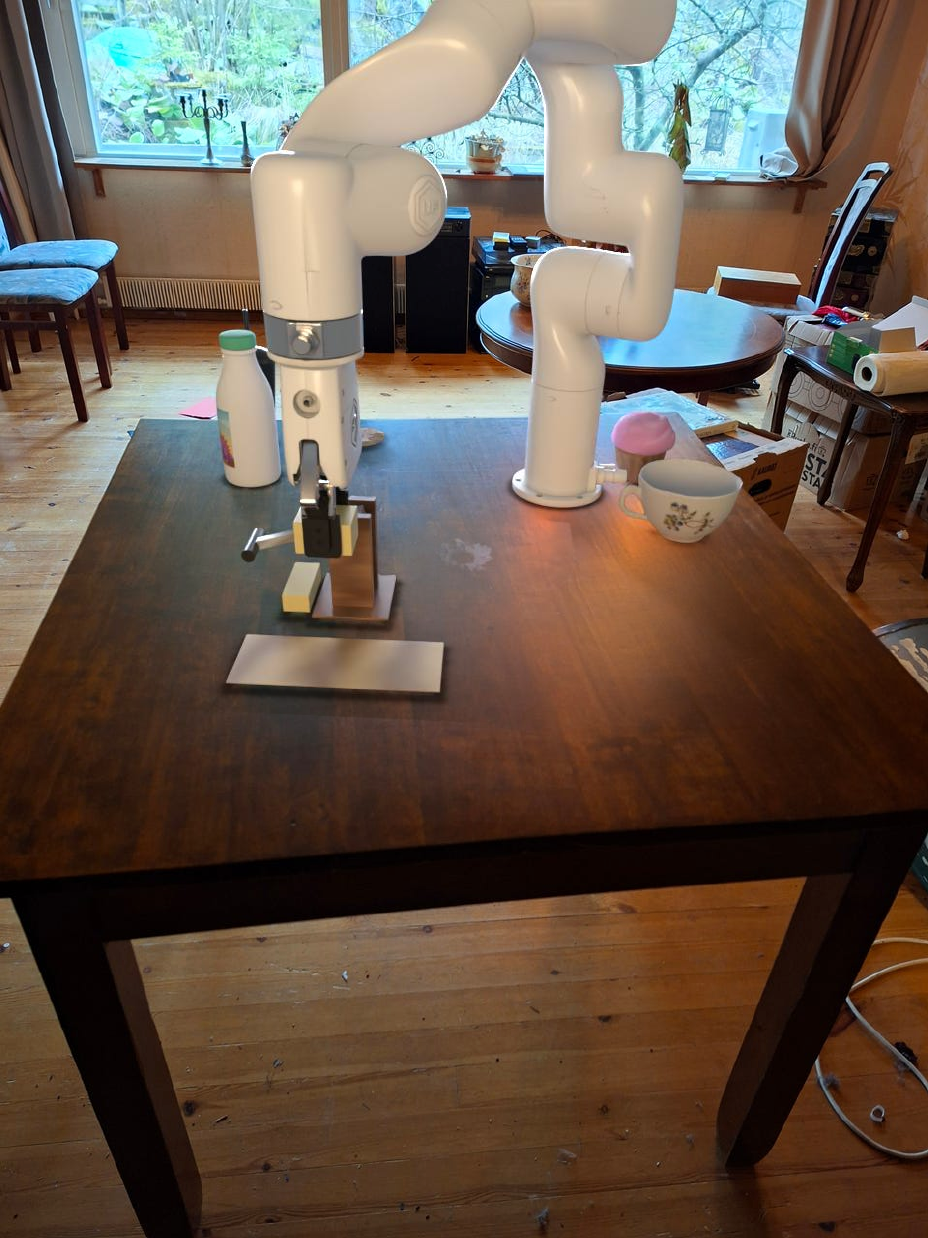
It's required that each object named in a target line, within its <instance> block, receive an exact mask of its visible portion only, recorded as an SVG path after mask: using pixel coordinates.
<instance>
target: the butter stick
mask: <svg viewBox="0 0 928 1238" xmlns="http://www.w3.org/2000/svg"><path fill="white" fill-rule="evenodd" d="M321 582H322V568H321V563H320V562H311V561H310V562H306V561H295V562H294V564H293V566H292V569H291V572H290V574H289V576H288V578H287V581H286V584H285V586H284V589H283V592H282V594H281V600H282V609H283V612H291V613H311V610H312V608H313V604H314V602H315V599H316V595H317V594H318V591H319V590H318V589H319V587H320V584H321Z"/></svg>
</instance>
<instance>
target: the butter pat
mask: <svg viewBox="0 0 928 1238" xmlns="http://www.w3.org/2000/svg"><path fill="white" fill-rule="evenodd" d="M336 514H337V515H340V524H341V543H342V554H341V555H342V556H352V554H353V551H354V547H355V544H356V541H357V537H358V517H357V506H349V505H336ZM292 529H293V531H294V542H293V543H294V551H295V554H297V555H299V554H300V555H301V554H302V555H305V554H304V543H303V531H302V519H301V506H300V507H299V508H298V512H297V514H296V516H295V517H294V519H293V522H292Z"/></svg>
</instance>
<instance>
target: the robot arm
mask: <svg viewBox="0 0 928 1238" xmlns="http://www.w3.org/2000/svg"><path fill="white" fill-rule="evenodd" d="M677 10H678V0H433V1H432V3H431V4H430V5H429V6H428V8H427V9H426V11H425V12H424V14H423V15H422V17H421V19H420V20H419V21H418V23H417V24H416V26H415V27H414V28H413V29H412V30H410V31H409V32H408V33H406V34H404V35H402V36H400V37H399V38H396V39H394V40H393V41H391V42H390V43H388V44H387V45H385V46H383V47H382V48H379V50H377V51H376V52H374V53H372V54H371V55H370V56H368V57H366V58H365V59H363V60H362V61H360V62H358V63H357V64H355V65H353V66H351V67H350V68H349V69H347V70H345V71H344V72H343V73H341V74H340V75H338V76H337V77H336V78H334V79H333V80H331V81H330V82H329V83H328V84H327V85H326V86H324V87H323V88H322V89H321V90H320V91H319V92H318V93H317V94H316V95H315V96H314V97H313V99H312V100H311V101H310V102H309V104H308V105H307V107H306V108H305V109H304V111H303V112H302V113H301V114H300V116H299V118H298V120H296V122H295V123H294V125H293V126H292V127H291V129H290V130H289V132H288V134H287V135H286V137H285V138H284V140H283V141H282V143H281V146H280V148H279V150H278V151H271V152H266V153H263V154H261V155H260V156H258V157H257V158H256V159H255V160H254V161H253V164H252V166H251V170H250V192H251V201H252V212H253V223H254V232H255V242H256V252H257V262H258V263H257V264H258V275H259V283H260V294H261V295H260V296H261V304H262V317H263V327H264V335H265V336H264V337H265V338H264V339H265V349H267V356H268V357H269V358H270V359H271V360H273V361H275V363H279V378H280V382H279V383H280V388H279V393H280V405H281V425H282V437H283V451H284V461H285V468H286V475H287V479H288V480H287V481H288V482H289V483H290V484H291V485H292V486H293V487H295V488H296V487H298V486H300V487H299V488H300V489H299V491H300V494H299V495H300V497H299V503H300V507H301V519H302V531H303V543H304V554H303V555H304V556H305V557H307V558H315V559H317V558H318V559H329V558H336V559H337V558H340V557H341V554H342V543H341V524H340V515H337V514H336V505H349V496H350V494H349V490H347V488H348V486H349V485H350V484H351V482H352V480H353V478H354V474H355V472H356V469H357V466H358V463H359V460H360V457H361V454H362V449H363V447H362V436H361V428H362V425H361V411H360V400H359V386H358V385H359V384H358V373H357V366H356V364H357V363H356V361H358V360H360V359H362V358H363V357H364V354H365V346H364V345H365V343H364V342H365V341H364V339H365V338H364V319H363V318H364V314H363V312H364V311H363V310H364V309H363V282H362V281H363V280H362V279H363V278H362V260H363V258H365V257H372V256H373V257H374V256H375V257H376V256H378V257H379V256H381V257H382V256H383V257H403V256H408V255H412V254H415V253H417V252H419V251H421V250H423V249H425V248H426V247H427V246H428V245H430V244H431V242H433V241H434V239H435V238H436V237H437V235H438V234H439V232H440V230H441V229H442V226H443V224H444V222H445V218H446V214H447V207H448V196H447V188H446V185H445V181H444V179H443V176H442V175H441V173H440V172H439V169H438V168H437V167H436V165H435V164H434V163H433V162H432V161H431V160H430V159H428V158H427V157H426V156H424V155H423V154H421V153H419V152H417V151H415V150H412V149H408V148H405V147H401V146H404V145H408V144H410V143H413V142H417V141H421V140H424V139H425V140H426V139H429V138H433V137H438V136H440V135H444V134H448V133H450V132H453V131H455V130H458V129H461V128H464V127H466V126H468V125H469V126H470V125H471V124H474V123H475V122H477V121H480V120H481V119H483V118H484V117H486V116H487V115H488V114H489V113H490V112H491V110H493V108H494V107H495V105H496V104H497V103H498V101H499V99H500V97H501V95H502V94H503V92H504V90H505V89H506V87H507V86H508V84H509V82H511V81H510V80H511V79H512V77H513V76H514V74H515V72H516V71H517V69H518V67H520V64H521V63H522V61H523V60H525V62H526V64H527V65H528V67H529V68H530V70H531V71H532V73H533V75H534V77H535V79H536V81H537V84H538V86H539V87H538V88H539V89H540V92H541V96H542V102H543V108H544V109H543V111H544V152H543V153H544V154H543V155H544V156H543V157H544V159H543V160H544V161H543V163H544V164H543V205H544V206H543V207H544V216H545V221H546V224H547V225H548V227H549V228H550V230H551V231H552V232H553V233H556V234H557V235H560V236H561V237H566V238H570V239H574V240H575V239H576V240H582V241H588V242H596V243H604V244H611V245H618V246H624V247H626V248H627V250H628V253H623V252H622V253H621V252H614V251H610V250H605V249H604V250H603V249H597V248H588V247H580V246H561V247H557V248H553V249H551V250H549V251H547V252H546V253H544V254H543V255H541V257H540V258H539V259H538V260H537V262H536V263H535V265H534V267H533V269H532V273H531V276H530V282H529V284H530V285H529V287H530V288H529V300H530V309H531V317H532V318H531V319H532V333H533V335H532V336H533V337H532V338H533V341H532V342H533V343H532V344H533V346H532V365H531V366H532V367H531V379H530V390H529V391H530V392H529V402H528V403H529V405H528V417H527V418H528V419H527V429H526V430H527V431H526V443H525V458H524V468H522V469H520V470H518V471H517V472H516V473H515V474H514V475H513V477H512V483H511V484H512V485H511V487H512V490H513V491H514V493H515V494H516V495H517V496H519V497H520V498H521V499H523V500H525V501H527V502H530V503H532V504H535V505H539V506H543V507H549V508H558V509H559V508H562V509H563V508H564V509H566V508H577V507H583V506H587V505H589V504H591V503H593V502H595V501H597V500H598V499H599V498H600V497H601V495H602V491H603V485H604V483H611V484H619V485H620V484H621V485H625V484H627V481H628V479H627V470H619V469H617V464H614V463H605V464H604V463H600V462H599V461H597V459H596V458H597V457H596V449H597V442H598V441H597V440H598V434H599V433H598V432H599V426H600V416H601V409H602V403H603V402H602V401H603V393H604V387H605V380H606V379H605V378H606V363H605V357H604V353H603V350H602V348H601V345H600V343H599V341H598V339H597V337H596V336H599V337H604V338H605V337H606V338H610V339H616V340H621V341H628V342H636V343H644V342H645V343H647V342H650V341H653V340H654V339H656V338H657V337H659V336H660V335H661V334H662V332H663V331H664V329H665V327H666V326H667V324H668V321H669V318H670V315H671V311H672V307H673V300H674V294H675V286H676V280H677V279H676V277H677V271H678V262H679V261H678V260H679V253H680V242H681V235H682V228H683V227H682V226H683V219H684V218H683V217H684V209H685V181H684V177H683V172H682V170H681V168H680V165H679V163H678V162H677V161H676V160H675V159H674V158H672V157H671V156H669V155H667V154H664V153H660V152H657V151H647V150H646V151H645V150H632V149H626V148H625V146H624V143H623V125H624V123H623V122H624V108H625V107H624V105H625V97H624V90H623V86H622V84H621V80H620V77H619V75H618V72H617V69H616V67H615V66H627V67H628V66H629V67H631V66H632V67H633V66H634V67H635V66H643V65H646V64H648V63H650V62H652V61H653V60H655V59H657V57H658V56H659V55H660V54H661V53H662V51H663V50H664V49H665V47H666V46H667V43H668V42H669V39H670V37H671V35H672V33H673V29H674V26H675V22H676V17H677Z"/></svg>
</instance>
